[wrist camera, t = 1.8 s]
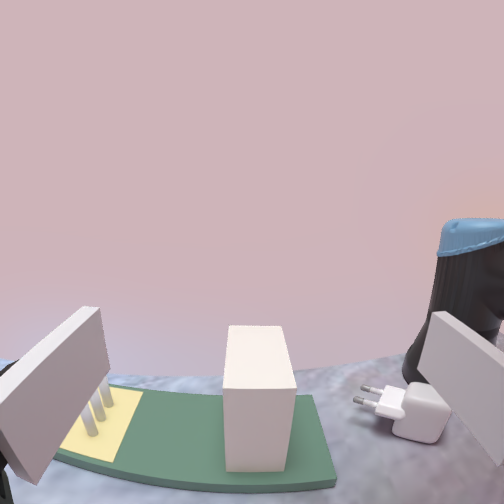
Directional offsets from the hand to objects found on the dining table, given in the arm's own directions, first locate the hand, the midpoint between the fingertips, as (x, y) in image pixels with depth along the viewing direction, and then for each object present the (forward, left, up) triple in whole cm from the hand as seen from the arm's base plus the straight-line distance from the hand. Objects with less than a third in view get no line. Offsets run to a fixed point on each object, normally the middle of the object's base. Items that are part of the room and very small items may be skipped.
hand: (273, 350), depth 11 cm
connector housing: (0, -12, -17) cm, 21 cm away
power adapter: (-16, -13, -19) cm, 28 cm away
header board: (+8, -12, -19) cm, 24 cm away
